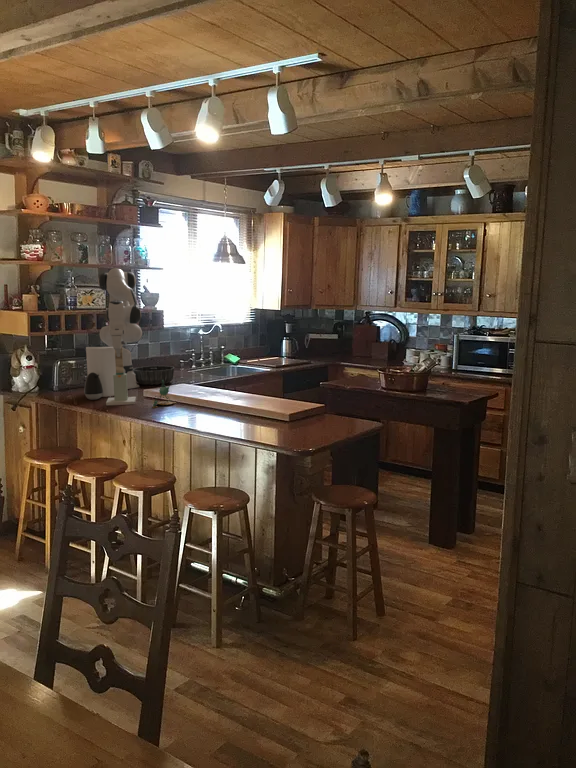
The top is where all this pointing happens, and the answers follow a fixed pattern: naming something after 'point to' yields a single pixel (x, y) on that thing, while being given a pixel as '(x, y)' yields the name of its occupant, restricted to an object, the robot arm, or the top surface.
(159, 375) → the bundt pan
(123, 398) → the stand base
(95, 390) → the dark grey egg shape
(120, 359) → the column
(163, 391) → the frog figurine
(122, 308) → the robot arm
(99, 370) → the white tall block
